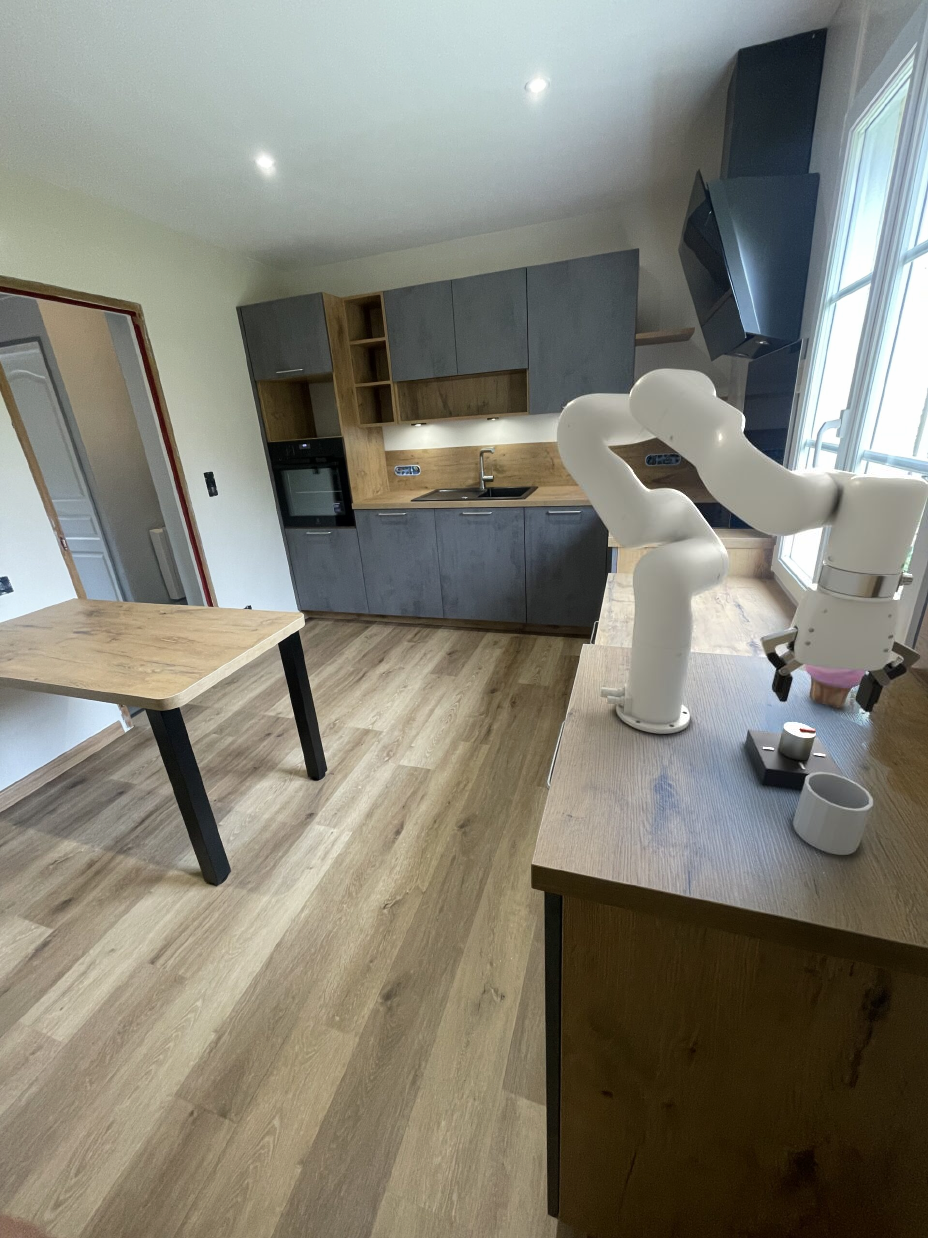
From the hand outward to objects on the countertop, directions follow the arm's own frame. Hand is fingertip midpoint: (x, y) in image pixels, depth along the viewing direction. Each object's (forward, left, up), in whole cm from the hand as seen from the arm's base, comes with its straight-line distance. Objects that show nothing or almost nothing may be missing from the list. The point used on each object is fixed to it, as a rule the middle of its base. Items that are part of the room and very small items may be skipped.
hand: (820, 701), depth 65 cm
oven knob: (0, +4, -11) cm, 12 cm away
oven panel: (0, +4, -14) cm, 15 cm away
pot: (0, -9, -14) cm, 17 cm away
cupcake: (+13, +27, -15) cm, 34 cm away
